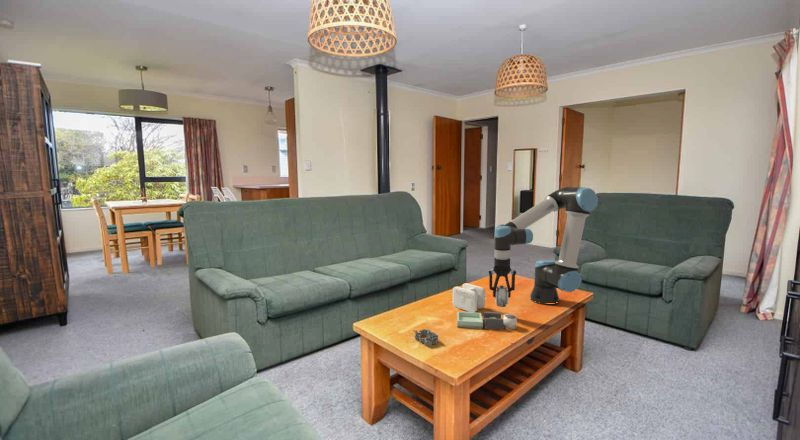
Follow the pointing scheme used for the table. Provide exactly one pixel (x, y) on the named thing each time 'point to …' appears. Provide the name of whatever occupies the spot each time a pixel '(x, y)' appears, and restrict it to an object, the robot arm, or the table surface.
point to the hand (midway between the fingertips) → (501, 303)
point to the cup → (509, 321)
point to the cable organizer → (468, 297)
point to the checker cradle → (493, 320)
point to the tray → (469, 320)
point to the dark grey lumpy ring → (428, 339)
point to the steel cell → (501, 296)
